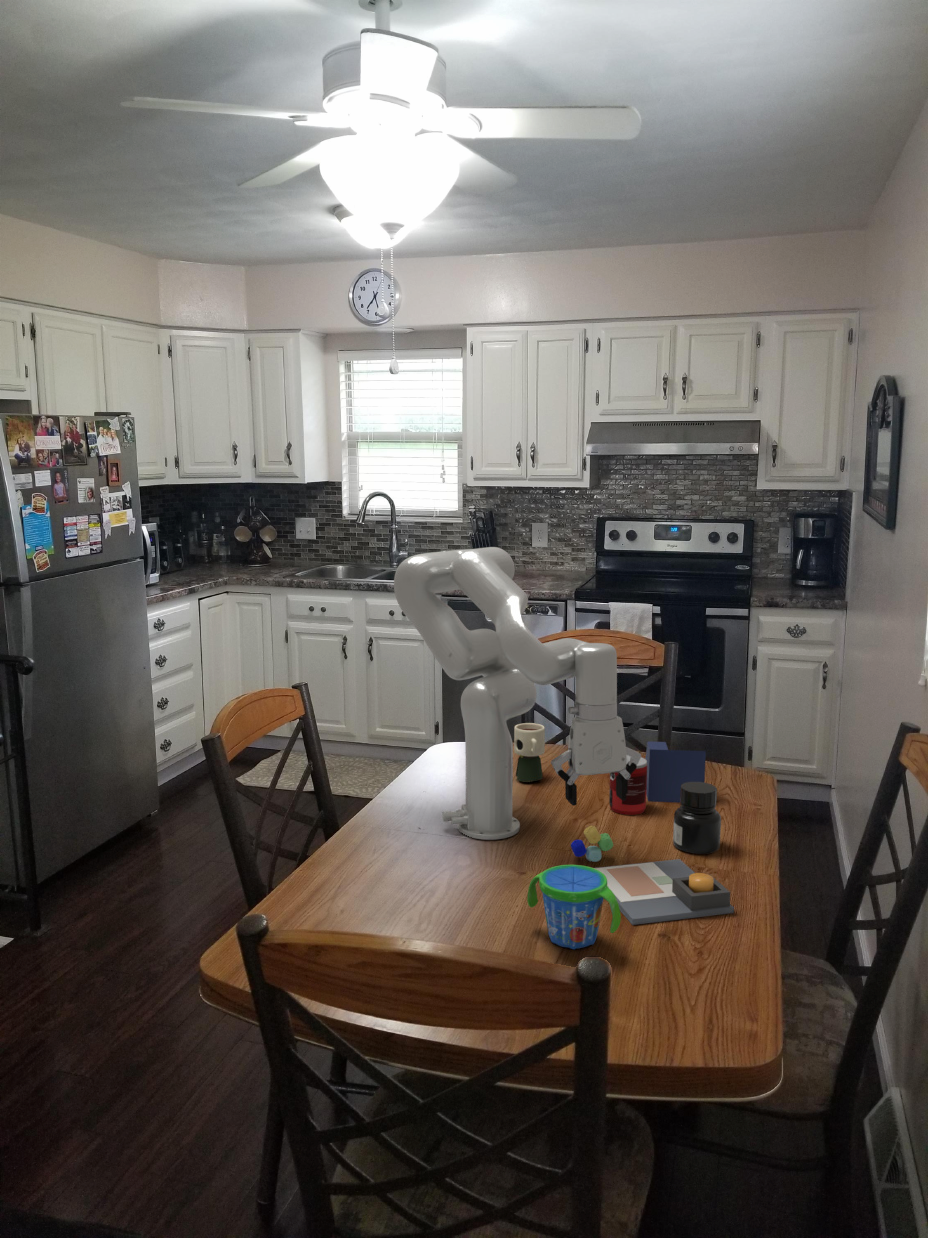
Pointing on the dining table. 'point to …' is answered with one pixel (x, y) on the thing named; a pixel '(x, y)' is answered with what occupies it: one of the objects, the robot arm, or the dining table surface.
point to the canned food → (630, 791)
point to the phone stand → (671, 771)
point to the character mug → (529, 751)
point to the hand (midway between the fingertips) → (596, 800)
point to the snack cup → (574, 903)
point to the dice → (593, 837)
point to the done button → (700, 882)
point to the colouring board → (662, 892)
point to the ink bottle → (697, 819)
